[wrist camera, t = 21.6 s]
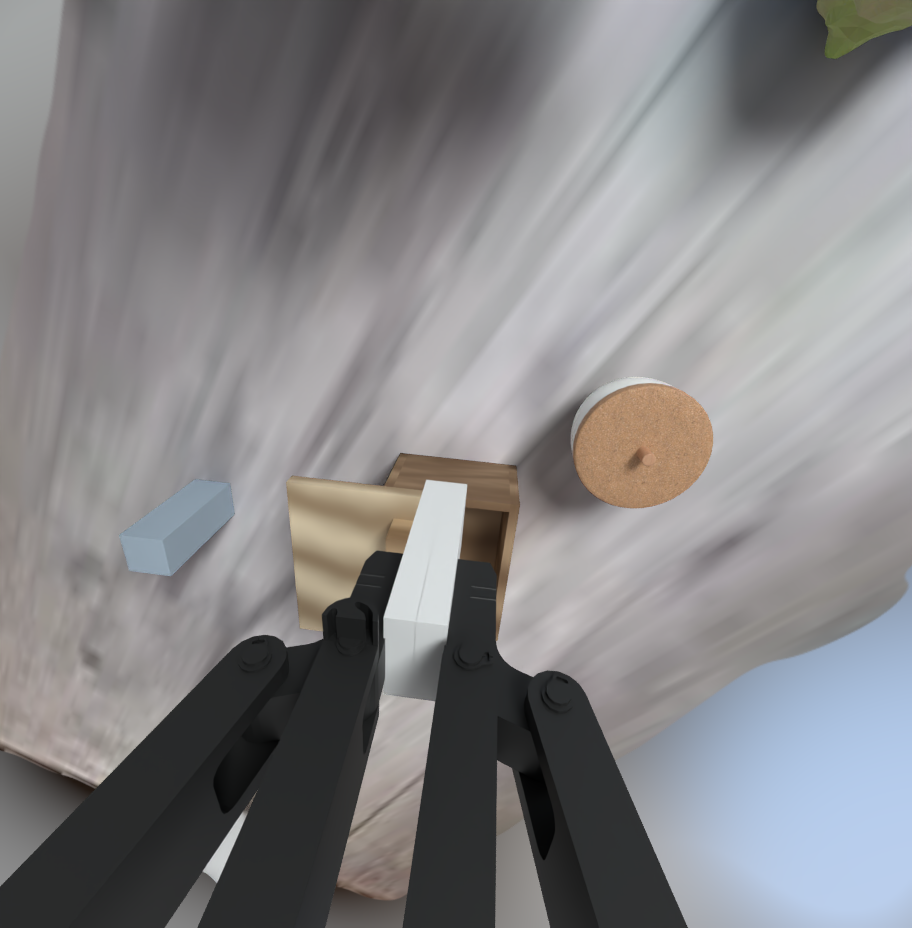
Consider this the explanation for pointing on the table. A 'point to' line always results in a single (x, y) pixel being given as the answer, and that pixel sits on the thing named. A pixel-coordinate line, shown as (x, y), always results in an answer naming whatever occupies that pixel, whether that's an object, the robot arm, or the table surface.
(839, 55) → the globe
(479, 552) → the toolbox
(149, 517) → the blue-grey block
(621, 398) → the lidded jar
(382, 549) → the lid
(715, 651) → the table surface
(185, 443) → the table surface
